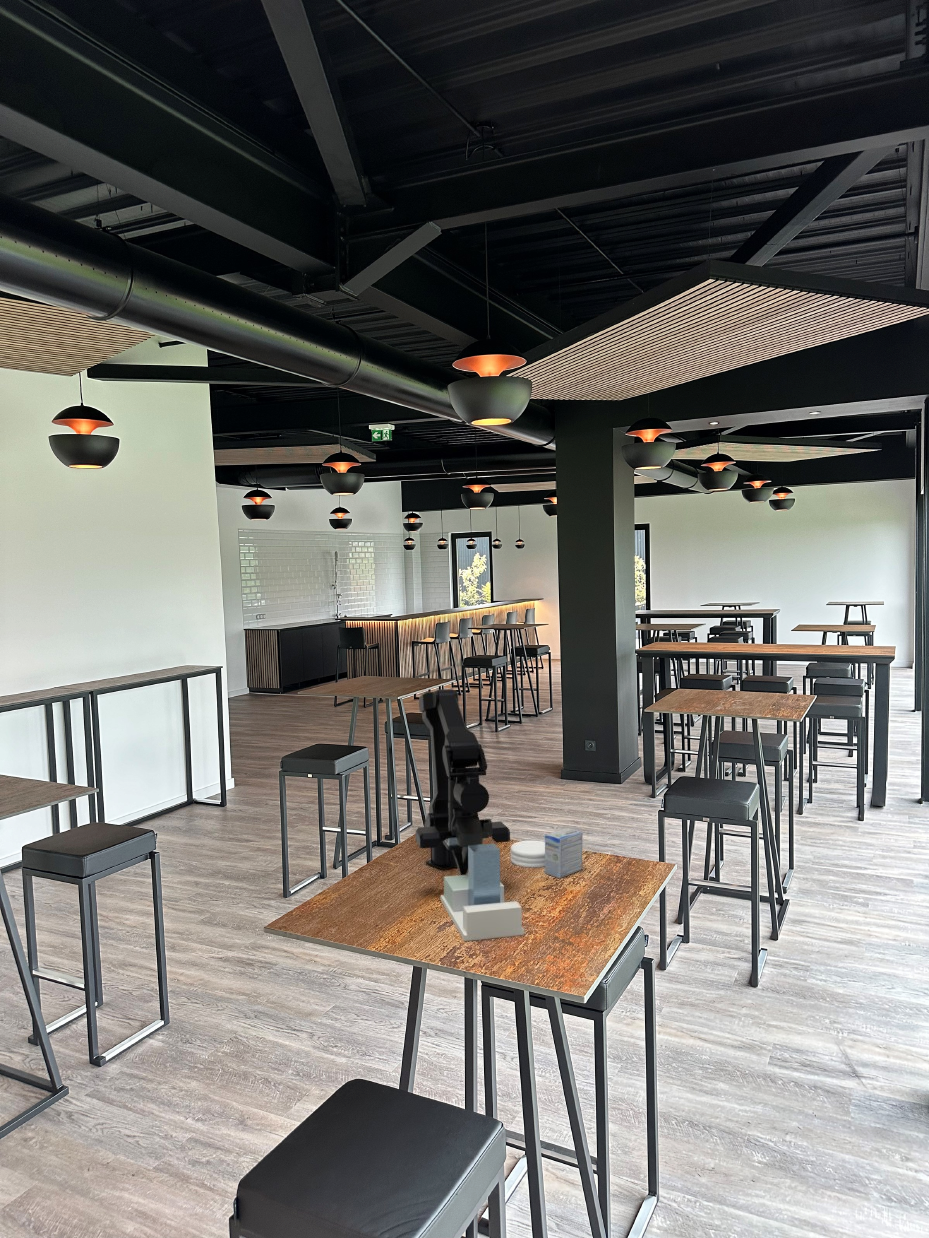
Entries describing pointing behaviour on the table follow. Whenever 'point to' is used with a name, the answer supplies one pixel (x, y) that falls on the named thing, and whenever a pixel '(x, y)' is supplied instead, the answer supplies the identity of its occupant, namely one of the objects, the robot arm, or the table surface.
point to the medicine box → (563, 852)
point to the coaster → (528, 854)
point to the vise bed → (487, 920)
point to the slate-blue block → (483, 874)
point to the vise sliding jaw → (460, 891)
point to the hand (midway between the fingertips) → (462, 876)
